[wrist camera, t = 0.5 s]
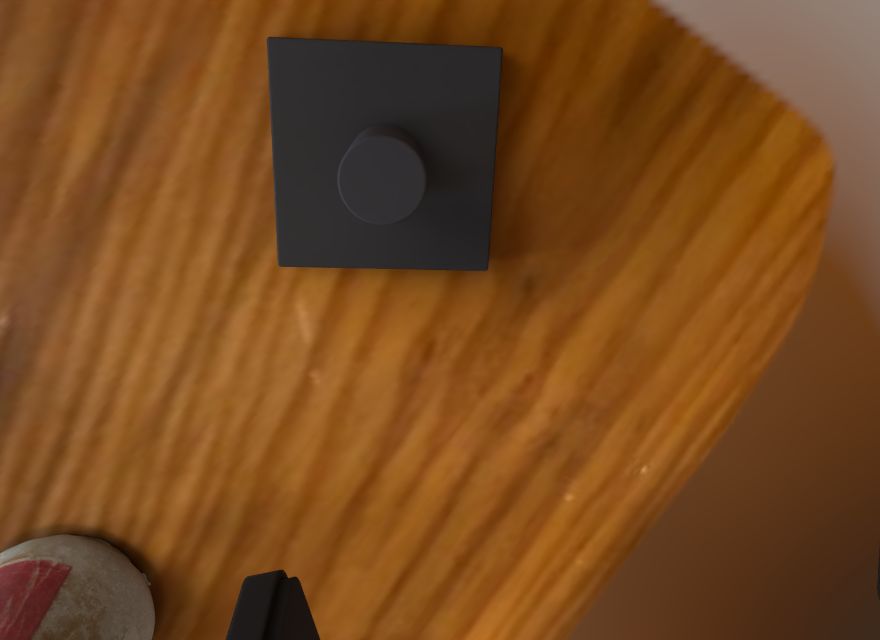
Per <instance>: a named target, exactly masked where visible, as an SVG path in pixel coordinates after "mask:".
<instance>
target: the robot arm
mask: <svg viewBox="0 0 880 640" xmlns="http://www.w3.org/2000/svg"><path fill="white" fill-rule="evenodd" d="M877 589H878V595H879V599H880V551H879V568H878V586H877ZM226 640H320V638H319V635H318V632H317V629H316V626H315V624H314V621H313V618H312V615H311V612H310V609H309V606H308V604H307V601H306V598H305V595H304V592H303V589H302V586H301V583H300V581H299V579H298V578H297V577H292V578H288V577H287V575H286V573H285V572H284V571H283V570H278V571H273V572H268V573H263V574H258V575H253V576H248V577H247V578H245V580H244V582H243V585H242V588H241V591H240V594H239V598H238V601H237V604H236V608H235V611H234V614H233V617H232V621H231V624H230V627H229V630H228V634H227V637H226Z"/></svg>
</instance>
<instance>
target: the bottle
mask: <svg viewBox="0 0 880 640" xmlns="http://www.w3.org/2000/svg"><path fill="white" fill-rule="evenodd" d="M150 585H151V583H149V582H148V580H147V577H146V575H145V573H140V572H139V570H138V569H137V568H135V567H134V565H133V564H132V563H131V562H130V560H129V558H128V557H127V556H126V555H124V554H123V553H122V552H121V551H120V550H117V549H116V548H114V546H111V545H110V544H109V543H108V542H106V541H104V540H102V539H98V538H93V537H87V535H85V536H73V535H72V534H62V535H60V534H58V535H53V536H47V537H42V538H38V539H33V540H30V541H26V542H24V543H21V544H19V545H17V546H14V547H12V548H9V549H7V550H5V551H4V552H2V553H0V640H152V637H153V632H154V626H155V611H154V604H153V600H152V596H151V593H150V590H149V586H150Z"/></svg>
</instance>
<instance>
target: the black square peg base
mask: <svg viewBox="0 0 880 640" xmlns="http://www.w3.org/2000/svg"><path fill="white" fill-rule="evenodd" d="M267 50H268V70H269V90H270V110H271V131H272V151H273V171H274V191H275V211H276V231H277V251H278V265H279V266H280V267H328V268H377V269H426V270H475V271H486V270H488V262H489V247H490V232H491V217H492V202H493V187H494V172H495V157H496V142H497V127H498V112H499V97H500V82H501V67H502V52H503V49H502V48H501V47H484V46H461V45H439V44H416V43H393V42H371V41H348V40H326V39H303V38H280V37H268V38H267Z"/></svg>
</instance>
